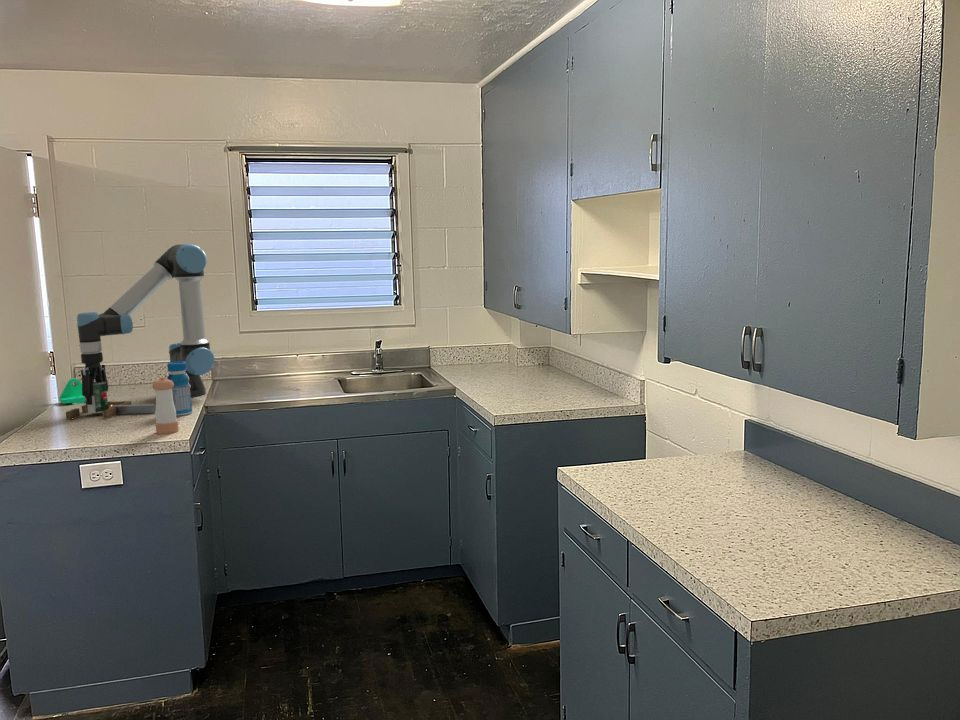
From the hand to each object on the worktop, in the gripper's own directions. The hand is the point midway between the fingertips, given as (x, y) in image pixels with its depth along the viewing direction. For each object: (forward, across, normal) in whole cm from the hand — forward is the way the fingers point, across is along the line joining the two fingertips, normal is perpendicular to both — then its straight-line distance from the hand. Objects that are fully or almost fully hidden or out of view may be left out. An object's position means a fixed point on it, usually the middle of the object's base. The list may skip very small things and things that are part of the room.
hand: (97, 410), depth 311 cm
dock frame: (+2, 0, 0) cm, 2 cm away
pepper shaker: (+2, +33, +42) cm, 53 cm away
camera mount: (+2, -26, -23) cm, 35 cm away
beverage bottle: (+2, +3, +34) cm, 35 cm away
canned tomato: (+1, 0, 0) cm, 1 cm away
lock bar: (+2, 0, +14) cm, 14 cm away
